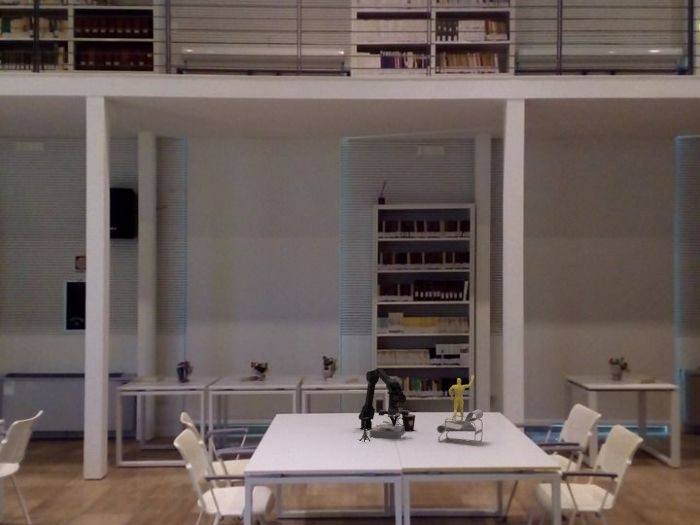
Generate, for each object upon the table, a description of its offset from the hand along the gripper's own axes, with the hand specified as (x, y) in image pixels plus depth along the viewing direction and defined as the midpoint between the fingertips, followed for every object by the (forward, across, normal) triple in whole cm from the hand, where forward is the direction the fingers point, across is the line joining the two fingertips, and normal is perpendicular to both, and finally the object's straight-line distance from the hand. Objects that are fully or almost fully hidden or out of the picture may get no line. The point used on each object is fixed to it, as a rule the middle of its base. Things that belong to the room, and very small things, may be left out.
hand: (394, 426), depth 501 cm
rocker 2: (0, -4, +7) cm, 8 cm away
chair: (+8, +41, -5) cm, 42 cm away
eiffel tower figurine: (+7, -16, -15) cm, 23 cm away
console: (+6, -6, +7) cm, 11 cm away
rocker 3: (0, -4, +14) cm, 15 cm away
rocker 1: (0, -4, 0) cm, 5 cm away
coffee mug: (+7, +3, +25) cm, 26 cm away
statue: (+8, +36, +40) cm, 55 cm away
